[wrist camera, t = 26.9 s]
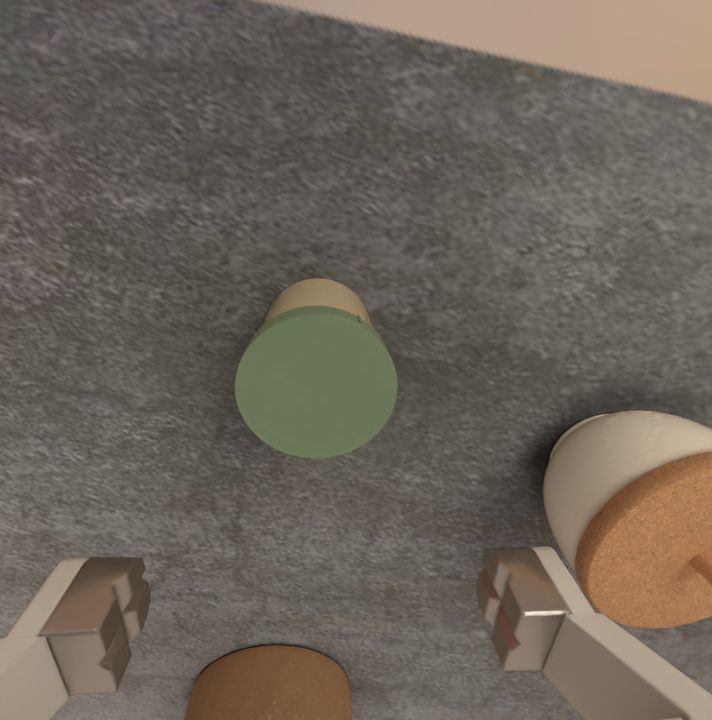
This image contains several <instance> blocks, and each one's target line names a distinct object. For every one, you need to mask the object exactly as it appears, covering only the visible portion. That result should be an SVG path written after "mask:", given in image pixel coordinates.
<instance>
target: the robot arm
mask: <svg viewBox="0 0 712 720" xmlns="http://www.w3.org/2000/svg"><path fill="white" fill-rule="evenodd" d="M482 560H483V563H484V565H485V568H484V569H483V570H482V571H481V572H479V574H478V579H477V597H478V601H479V605H480V609H481V611H482V614H483V617H484V618H485V619H486V620H487V621H488V622H489V623H490V624H491V625H492V626H493V627H494V630H493V634H492V641H493V643H494V646H495V649H496V651H497V654H498V657H499V659H500V662H501V664H502V667H503V670H504V671H519V670H543V671H542V673H543V674H544V675H545V676H546V677H547V679H548V680H549V681H550V682H551V683H552V684H553V685H554V686H555V687H556V688H557V690H558V691H559V692H560V693H561V694H562V695H563V696H564V697H565V698H566V699H567V701H568V702H569V703H570V704H571V705H572V706H573V707H574V708H575V709H576V710H577V712H578V713H579V714H580V715H581V716H582V717H583V718H584V719H585V720H712V695H711V694H710V693H708V692H707V691H706V690H704V689H703V688H702V687H700V686H699V685H698V684H696V683H695V682H694V681H692V680H691V679H690V678H688V677H687V676H686V675H684V674H683V673H682V672H680V671H679V670H677V669H676V668H675V667H673V666H672V665H671V664H669V663H668V662H667V661H665V660H664V659H663V658H661V657H660V656H659V655H657V654H656V653H655V652H653V651H652V650H651V649H649V648H648V647H647V646H645V645H644V644H643V643H641V642H640V641H639V640H637V639H636V638H635V637H633V636H632V635H631V634H629V633H628V632H627V631H625V630H624V629H622V628H621V627H620V626H618V625H617V624H616V623H614V622H613V621H612V620H610V619H609V618H608V617H606V616H605V615H604V614H602V613H595V612H594V610H593V609H592V607H591V606H590V604H589V603H588V601H587V600H586V598H585V596H584V595H583V593H582V592H581V590H580V589H579V587H578V586H577V584H576V583H575V581H574V580H573V578H572V576H571V575H570V573H569V572H568V570H567V569H566V567H565V566H564V564H563V563H562V561H561V559H560V558H559V556H558V555H557V553H556V552H555V550H553V549H552V548H551V547H506V548H487V550H486V551H485V552H484V555H483V559H482ZM144 571H145V565H144V561H143V558H124V557H91V558H65V559H64V560H62V561H61V562H60V563H59V564H57V565H56V567H55V568H54V570H53V571H52V573H51V574H50V575H49V577H48V578H47V580H46V581H45V582H44V584H43V585H42V587H41V588H40V589H39V591H38V592H37V594H36V595H35V597H34V598H33V599H32V601H31V602H30V604H29V605H28V606H27V608H26V609H25V611H24V612H23V613H22V615H21V616H20V618H19V619H18V620H17V622H16V623H15V625H14V626H13V628H12V629H11V630H10V632H9V633H8V635H7V636H6V637H4V638H0V720H50V719H51V718H52V717H53V716H54V715H55V714H56V713H57V712H58V711H59V710H60V709H61V708H62V707H63V705H64V704H65V703H66V702H67V701H68V700H69V696H74V695H86V694H98V693H109V692H117V689H118V687H119V684H120V682H121V679H122V677H123V675H124V672H125V670H126V667H127V665H128V662H129V660H130V658H131V655H132V654H131V650H130V646H129V643H130V642H131V641H132V640H133V639H134V638H135V637H136V636H137V635H138V634H139V633H140V632H141V631H142V628H143V626H144V623H145V620H146V618H147V614H148V609H149V604H150V587H149V583H148V582H147V581H145V580H144V579H143V578H142V575H143V573H144Z"/></svg>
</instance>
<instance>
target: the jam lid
mask: <svg viewBox="0 0 712 720" xmlns="http://www.w3.org/2000/svg"><path fill="white" fill-rule="evenodd" d="M397 384H398V383H397V375H396V371H395V367H394V364H393V361H392V359H391V356H390V354H389V352H388V349H387V347H386V345H385V343H384V342H383V340H382V338H381V337H380V335H379V334H378V333H377V332H376V331H375V330H374V329H373V328H372V327H371V326H370V325H369V324H368V323H367V322H365V321H364V320H362V319H361V317H360V316H359V315H358V316H356V315H354V314H352V313H350V312H347V311H345V310H342V309H339V308H334V307H329V306H305V307H299V308H295V309H292V310H288V311H286V312H283V313H281V314H279V315H277V316H275V317H274V318H272V319H271V320H269V321H268V322H266V323H265V324H264V325H263V326H262V327H261V328H260V329H259V330H258V331H257V332H256V333H255V334H254V336H253V337H252V339H251V340H250V342H249V343H248V345H247V347H246V350H245V352H244V354H243V356H242V358H241V360H240V362H239V365H238V368H237V372H236V377H235V396H236V402H237V405H238V408H239V411H240V413H241V415H242V417H243V419H244V421H245V422H246V424H247V425H248V427H249V428H250V429H251V430H252V431H253V433H254V434H255V435H256V436H257V437H259V438H260V439H261V440H262V441H263V442H265V443H266V444H268V445H269V446H271V447H273V448H275V449H277V450H279V451H281V452H284V453H286V454H289V455H293V456H297V457H303V458H329V457H335V456H339V455H342V454H346V453H348V452H351V451H353V450H355V449H357V448H359V447H361V446H363V445H364V444H366V443H367V442H368V441H370V440H371V439H372V438H373V437H374V436H376V435H377V434H378V433H379V431H380V430H381V429H382V428H383V427H384V425H385V424H386V422H387V421H388V419H389V418H390V415H391V413H392V411H393V409H394V405H395V402H396V397H397Z"/></svg>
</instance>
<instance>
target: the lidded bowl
mask: <svg viewBox="0 0 712 720" xmlns="http://www.w3.org/2000/svg"><path fill="white" fill-rule="evenodd" d="M543 501H544V507H545V512H546V516H547V519H548V522H549V525H550V528H551V531H552V533H553V535H554V537H555V539H556V541H557V543H558V546H559V547H560V549H561V551H562V553H563V555H564V557H565V559H566V560H567V562H568V564H569V565H570V567H571V569H572V570H573V572H574V573H575V575H576V576H577V580H578V582H579V583H580V585H581V587H582V589H583V591H584V593H585V595H586V596H587V598H588V599H589V601H590V602H591V604H592V605H593V606H594V607H595V608H596V609H597V610H598V611H599V612H600V613H602V614H604V615H605V616H606V617H608V618H609V619H611V620H614V621H616V622H618V623H621V624H624V625H628V626H632V627H641V628H664V627H672V626H678V625H683V624H688V623H692V622H695V621H699V620H702V619H705V618H708V617H710V616H712V429H710V428H708V427H706V426H703V425H701V424H699V423H696V422H693V421H691V420H688V419H685V418H682V417H679V416H675V415H670V414H665V413H660V412H655V411H623V412H617V413H612V414H601V415H596V416H592V417H590V418H587V419H585V420H583V421H580V422H578V423H577V424H575V425H574V426H572V427H571V428H570V429H568V430H567V431H566V432H565V433H564V434H563V435H562V436H561V437H560V438H559V440H558V441H557V442H556V444H555V446H554V447H553V449H552V452H551V455H550V459H549V464H548V466H547V469H546V472H545V476H544V483H543Z"/></svg>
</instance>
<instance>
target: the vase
mask: <svg viewBox="0 0 712 720" xmlns="http://www.w3.org/2000/svg"><path fill="white" fill-rule="evenodd" d="M184 720H352V710H351V696H350V687H349V682H348V679H347V676H346V674H345V673H344V671H343V670H342V668H341V667H340V666H339V665H338V664H337V663H336V662H334V661H333V660H331V659H330V658H328V657H326V656H325V655H323V654H320V653H318V652H315V651H312V650H309V649H305V648H300V647H294V646H281V645H272V646H260V647H253V648H248V649H244V650H240V651H237V652H234V653H232V654H229V655H227V656H225V657H223V658H221V659H219V660H217V661H216V662H214V663H213V664H211V665H210V666H209V667H207V668H206V669H205V670H204V671H203V672H202V674H201V675H200V676H199V678H198V679H197V681H196V683H195V685H194V688H193V690H192V693H191V697H190V700H189V704H188V708H187V712H186V715H185V719H184Z"/></svg>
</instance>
